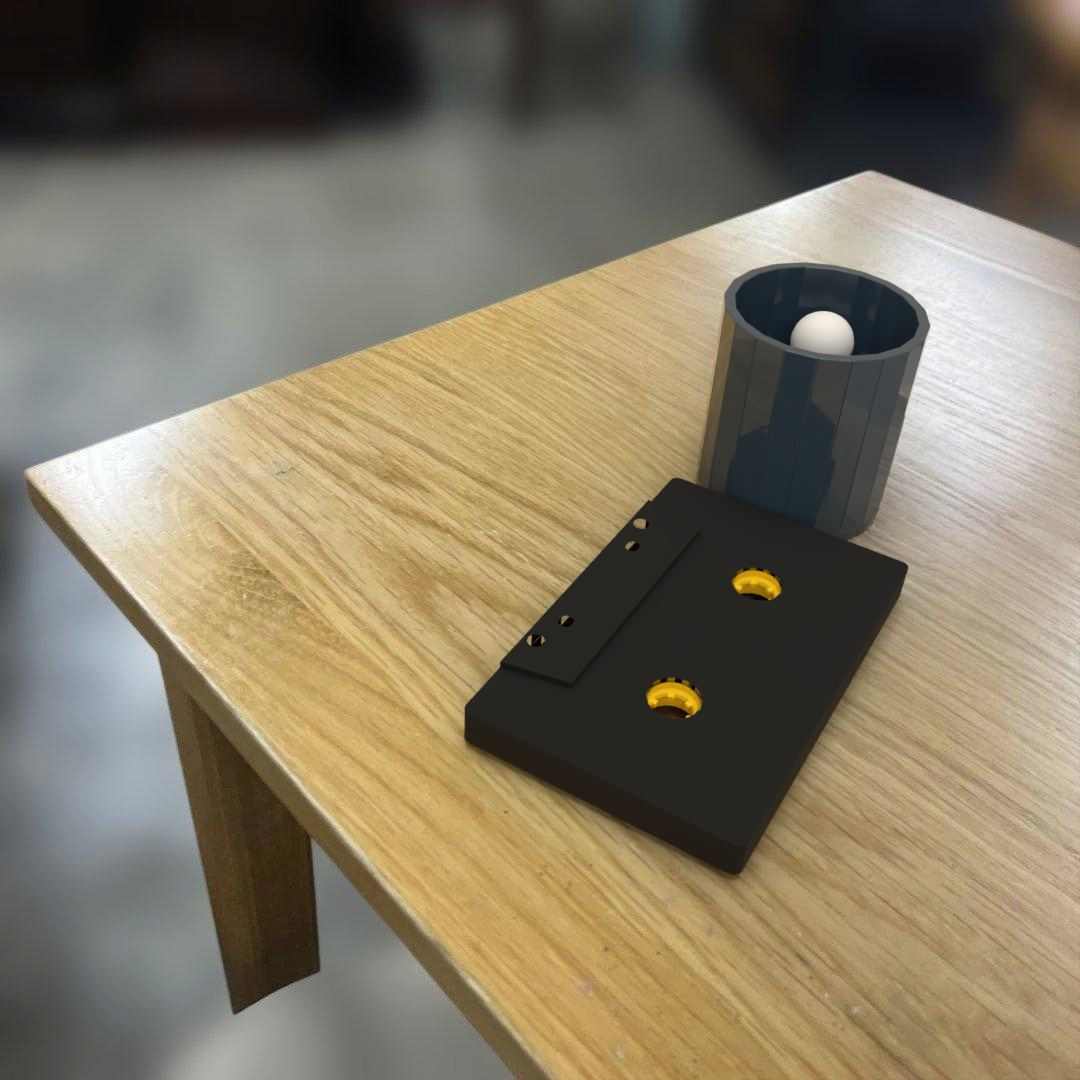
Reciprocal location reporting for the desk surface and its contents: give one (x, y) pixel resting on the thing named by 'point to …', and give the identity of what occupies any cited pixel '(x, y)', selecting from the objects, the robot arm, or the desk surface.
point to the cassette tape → (690, 669)
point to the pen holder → (810, 395)
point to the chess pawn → (823, 334)
